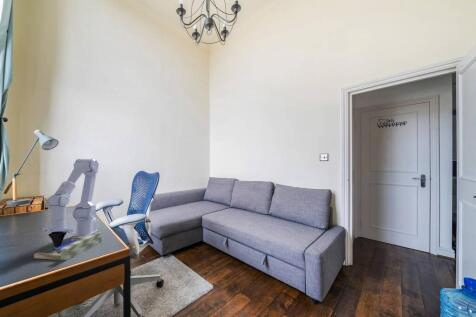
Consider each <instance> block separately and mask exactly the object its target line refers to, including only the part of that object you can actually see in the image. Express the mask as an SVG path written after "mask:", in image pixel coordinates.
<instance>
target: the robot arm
mask: <svg viewBox="0 0 476 317" xmlns="http://www.w3.org/2000/svg"><path fill="white" fill-rule="evenodd" d="M99 165H100V164H99V162H98V160H97V159H96V158H78V159H75V161H74V163H73V169H72V171H71V173H70V174H69V176H68V179H67V180H66V181H62V182H61V184H60V185H59V187H57V188H58V189H57V190H56V191H55V192H54V194H52V195H51V196H49V197H48V198H47V200H46V205H47V206H48V210H49V211H50V212H49V213H50V214H49V216H50V217H49V226H44V227H42V232H43V233H44V232H45V233H46V232H48V237H49V238H50V239H51V241H52V243H53V247H54V246H55V247H59V246H61V244H63V241H64V239H65V237H66V235H67V234H72V233H74V227H70V226H67V205H68V204H69V203H70V200H71V199H70V198H71V195H72V193H73V191H74V189H75V188H76V184H75V183H76V182H77V181H78V180H79V179H80V177H81V176H82V174H83V175H84V181H83V185H82V192H81V197H80V200H79V201H80V202H79V203H77V204H75V207H74V209H73V211H72V217H73V219H74V220H75V221H76V233H75V234H73V235H72V236H71V238H72V237H87V236H89V235H91V234H93V233H95V232H99V230H98V219H97V218H96V214H97V205H96V204H95V203H94V202H93V196H94V191H95V184H96V178H97V174H98V171H99V170H98V169H99Z"/></svg>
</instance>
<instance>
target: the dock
mask: <svg viewBox="0 0 476 317" xmlns="http://www.w3.org/2000/svg"><path fill="white" fill-rule="evenodd" d="M74 240H75V241H76V242H74V243H72V244H70V245H67V246H65V247H63V248H61V253H55V252H53V253H52V252H39V251H38V252H36V253H34V254H33V258H34V259H43V260H60V261H69V260H70V259H72V258H74V257H76V256H78V255H79V254H81V253H83V252H86V251H87V250H88V249H90V248H92V247H94V246H96V245H98V244H100V243H101V242H102V231H97V232H95V233H93V234H91V235H89V236H86V237H72V236H71V240H70V241H74Z"/></svg>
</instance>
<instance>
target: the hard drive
mask: <svg viewBox="0 0 476 317" xmlns="http://www.w3.org/2000/svg"><path fill="white" fill-rule="evenodd" d="M74 242H76V241H75V240H74V241H71V240H70V241H67V242H62V244H61V246H59V247H55V246H54V245H53V248H54V249H55V250H57V252H59V254H61V248H63V247H65V246H67V245H70V244H72V243H74Z"/></svg>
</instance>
